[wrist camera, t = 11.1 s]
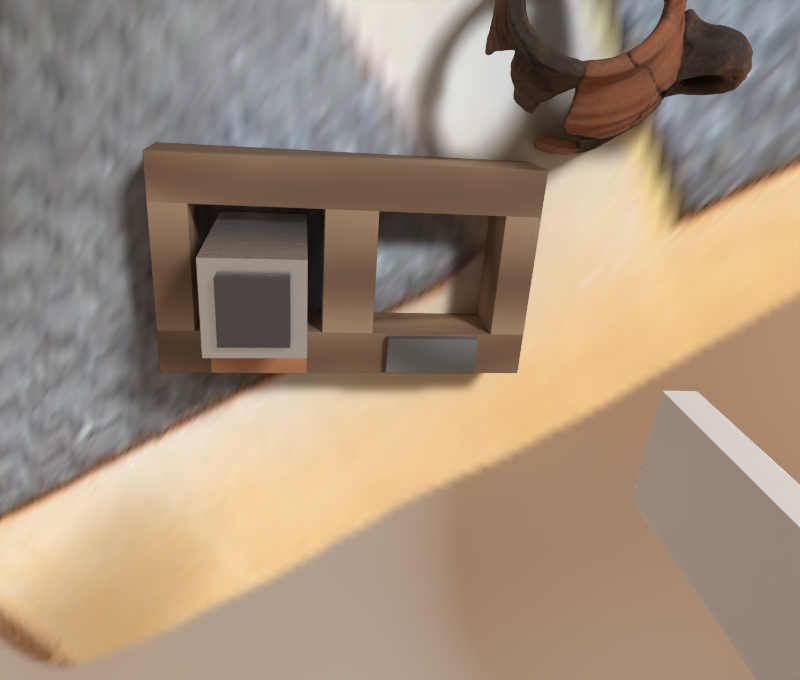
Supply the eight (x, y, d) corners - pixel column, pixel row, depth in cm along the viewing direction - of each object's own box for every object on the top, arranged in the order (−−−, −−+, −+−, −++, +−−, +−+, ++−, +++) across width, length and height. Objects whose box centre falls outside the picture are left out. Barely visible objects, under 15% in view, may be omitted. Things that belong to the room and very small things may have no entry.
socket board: (155, 142, 32) (140, 151, 29) (528, 162, 35) (550, 172, 32) (170, 348, 36) (158, 375, 33) (502, 350, 39) (519, 376, 36)
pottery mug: (478, 166, 35) (481, 100, 27) (489, -3, 36) (495, -118, 28) (712, 174, 34) (789, 107, 26) (719, -2, 35) (797, -122, 26)
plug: (220, 211, 34) (194, 261, 26) (306, 214, 34) (307, 263, 26) (223, 292, 36) (200, 363, 27) (306, 293, 36) (307, 362, 28)
